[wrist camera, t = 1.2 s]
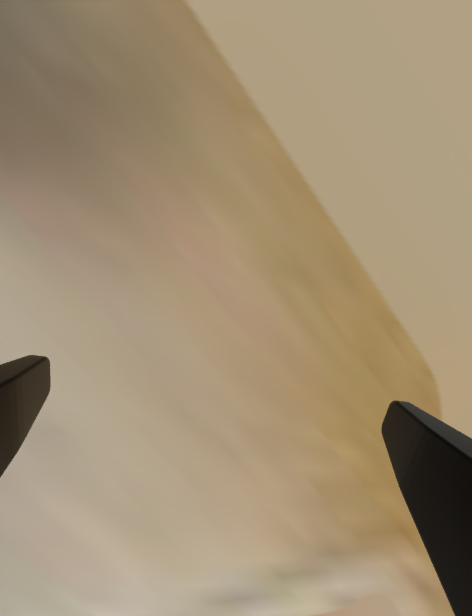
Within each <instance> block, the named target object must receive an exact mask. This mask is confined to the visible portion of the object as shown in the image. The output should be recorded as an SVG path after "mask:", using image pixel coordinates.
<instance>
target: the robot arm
mask: <svg viewBox="0 0 472 616" xmlns="http://www.w3.org/2000/svg"><path fill="white" fill-rule="evenodd" d="M49 391H50V361H49V359H48V358H47V357H45V356H37V355H29V356H26V357H23V358H20V359H16V360H13V361H10V362H7V363H4V364H1V365H0V477H1V476H2V474H3V473H4V471H5V470H6V468H7V467H8V465H9V464H10V462H11V461H12V459H13V458H14V456H15V455H16V453H17V452H18V450H19V449H20V447H21V445H22V443H23V442H24V440H25V438H26V436H27V434H28V432H29V430H30V429H31V427H32V425H33V423H34V421H35V419H36V417H37V415H38V413H39V412H40V410H41V408H42V406H43V404H44V402H45V400H46V398H47V396H48V394H49ZM382 436H383V439H384V442H385V445H386V448H387V451H388V454H389V457H390V460H391V463H392V467H393V470H394V473H395V476H396V479H397V482H398V484H399V487H400V490H401V492H402V495H403V497H404V499H405V502H406V504H407V506H408V509H409V511H410V513H411V516H412V518H413V520H414V522H415V525H416V527H417V529H418V532H419V534H420V536H421V539H422V541H423V543H424V545H425V548H426V550H427V552H428V555H429V557H430V559H431V562H432V564H433V566H434V568H435V571H436V573H437V575H438V578H439V580H440V582H441V585H442V587H443V589H444V591H445V594H446V596H447V598H448V601H449V603H450V605H451V608H452V610H453V612H454V614H455V616H472V439H471V438H470V437H468V436H466V435H464V434H463V433H461V432H459V431H457V430H456V429H454V428H452V427H451V426H449V425H447V424H445V423H444V422H442V421H440V420H439V419H437V418H435V417H433V416H432V415H430V414H428V413H426V412H425V411H423V410H421V409H419V408H418V407H416V406H414V405H413V404H411V403H409V402H404V401H392V402H391V403H390V405H389V408H388V410H387V413H386V416H385V418H384V421H383V423H382Z"/></svg>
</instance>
